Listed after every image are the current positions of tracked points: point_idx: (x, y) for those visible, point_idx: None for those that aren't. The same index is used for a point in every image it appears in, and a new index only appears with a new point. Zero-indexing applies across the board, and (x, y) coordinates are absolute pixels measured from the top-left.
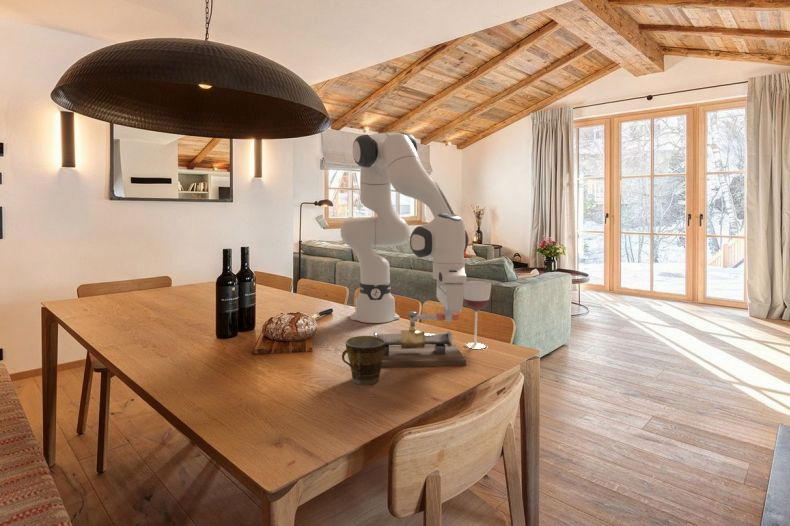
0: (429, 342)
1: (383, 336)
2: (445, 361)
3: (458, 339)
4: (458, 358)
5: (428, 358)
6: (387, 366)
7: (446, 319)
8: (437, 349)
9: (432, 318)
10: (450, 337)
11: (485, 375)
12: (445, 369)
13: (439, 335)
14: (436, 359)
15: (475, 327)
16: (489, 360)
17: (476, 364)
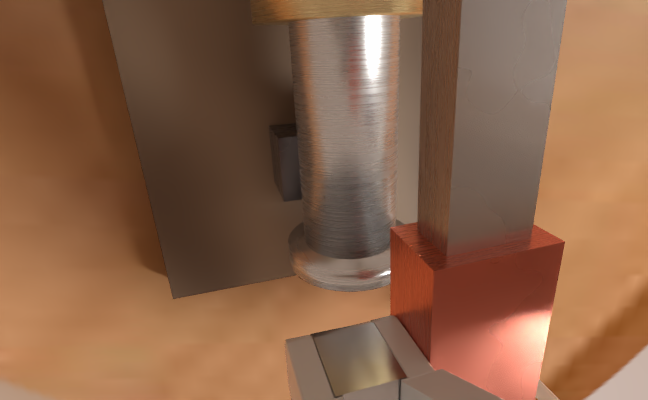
0: (292, 76)
1: None
2: (144, 175)
3: (579, 250)
4: (199, 258)
5: (175, 54)
6: None
7: (289, 371)
8: (273, 136)
9: (426, 157)
10: (301, 269)
11: (17, 371)
12: (76, 163)
13: (332, 182)
14: (159, 114)
15: (541, 396)
16: (268, 380)
17: (200, 329)
